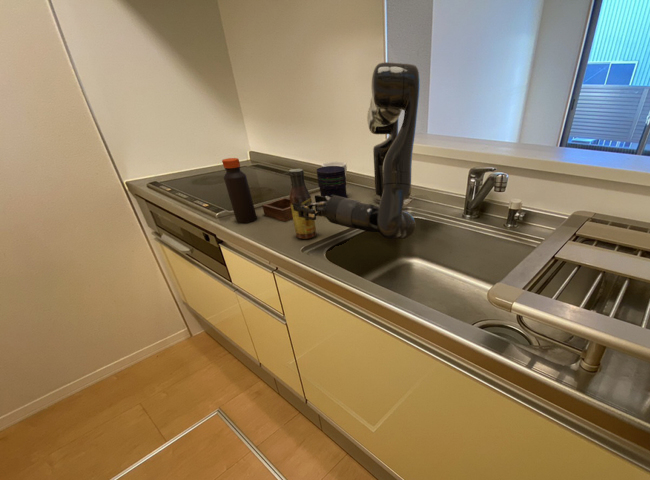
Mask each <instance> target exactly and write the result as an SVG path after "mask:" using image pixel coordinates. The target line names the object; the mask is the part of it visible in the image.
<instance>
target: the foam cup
mask: <svg viewBox="0 0 650 480" xmlns="http://www.w3.org/2000/svg"><path fill="white" fill-rule="evenodd" d="M326 166H341V167H344V168H345V176H346V177H347V171H348V168H347V167H348V166H347V163H346V162H345V161H329V162H324V163H322V164H321V167H326Z"/></svg>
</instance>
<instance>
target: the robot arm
mask: <svg viewBox="0 0 650 480" xmlns="http://www.w3.org/2000/svg"><path fill="white" fill-rule="evenodd" d="M420 82H421V78H420V71H419V68H418V67H417V65H416V64H411V63H402V62H401V63H400V62H390V61H389V62H386V61H384V62H380V63H378V64H376V65H375V67H374V69H373V72H372V75H371V86H370V87H371V97H370V101H369V107H368V110H367V116H366V120H367V121H366V123H367V127H368V130H369V131H370V133H371V134H373V135H377V136H378V135H388V137H387V138H386V139H385V140H384V141H382V142H380V143H378V144H375V145H374V146H373V148H372V155H373V156H372V157H373V169H374V170H373V173H374V193H375V194H374V198H375V202H376V203H377V204H379V205H378V206H377V205H374V204H372V203H367V202H362V201H359V200H357V199H353V198H350V197H349V198H344V197H340V196H336V195H331V197H329V196H325V197H324V196H321V194H315V195H314V201H315V202H312V203H310V204H309V205H303V204H299V203H293V209H294V211H297V212H298V214H299V217H302V218H306V219H310V220H315V221H316V220H317V217H321V218H322V217H323V218H326V220H327V221H328V222H329V223H330V224H334V225H338V226H342V227H345V228H349V229H356V230H361V231H364V232H369V233H379V234H380V235H381V236H382V237H383V238H385V239H390V240H405V239H407V238H409V237H411V236H412V235H413V234H414V232H415V231H416V226H417V225H416V220H415V218H414V216H413V215H412V214H411V213H409V212H407V211H406V210H403V207H404V202H405V201H406V200H408V199H410V197H411V195H412V194H411V193H412V167H413V166H412V163H413V162H412V161H413V152H414V151H413V150H414V144H415V137H416V128H417V121H418V111H419V103H420V92H421V91H420V89H421V88H420V87H421V83H420ZM402 111H404V115H403V120H402V124H401V127H400V128H399V126H400V125H399V124H400V123H399V121H400V115H401V113H402ZM307 208H309V209H307Z"/></svg>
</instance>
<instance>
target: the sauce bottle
mask: <svg viewBox="0 0 650 480" xmlns="http://www.w3.org/2000/svg"><path fill="white" fill-rule="evenodd" d="M288 175H289V177H290V183H291V188H290V192H289V198H290V202H291V209H292V215H293V219H292V220H293V221H292V222H293V226H294V231H295V233H296V234H295V235H296V237H297V238H298V239H301V240H308V239H312V238H314V237H316V235H317V228H316V220H310V219H306V218H302V217H299V214H298V212H297V211H294V209H293V203H299V204H303V205H309V204H310V203H313V200H312V196H311V194H310V192H309V189H308V188H307V187H306V182H305V177H304V175H305V172H304V169H302V168H291V169H289V170H288ZM307 209H309V208H307Z"/></svg>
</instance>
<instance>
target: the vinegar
mask: <svg viewBox="0 0 650 480" xmlns="http://www.w3.org/2000/svg"><path fill="white" fill-rule="evenodd" d="M221 162H222V165H223V168H224V170H225V173H224V175H223V180H224V183H225V187H226V190H227V194H228V196H229V201H230V204H231V207H232V211H233V214H234V218H235V220H236V222H237V223H240V224H247V223H251V222H254V221H256V220H257V218H258V217H257V213H256V209H255V205H254V201H253V197H252V193H251V190H250V186H249V182H248V178H247V174H246V173H245V172H243V171H242V170H241V163H240V160H239V158H238V157H228V158H224V159H222V160H221Z"/></svg>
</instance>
